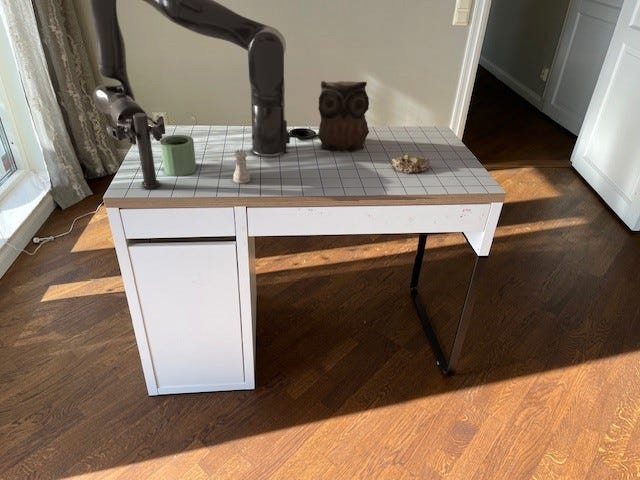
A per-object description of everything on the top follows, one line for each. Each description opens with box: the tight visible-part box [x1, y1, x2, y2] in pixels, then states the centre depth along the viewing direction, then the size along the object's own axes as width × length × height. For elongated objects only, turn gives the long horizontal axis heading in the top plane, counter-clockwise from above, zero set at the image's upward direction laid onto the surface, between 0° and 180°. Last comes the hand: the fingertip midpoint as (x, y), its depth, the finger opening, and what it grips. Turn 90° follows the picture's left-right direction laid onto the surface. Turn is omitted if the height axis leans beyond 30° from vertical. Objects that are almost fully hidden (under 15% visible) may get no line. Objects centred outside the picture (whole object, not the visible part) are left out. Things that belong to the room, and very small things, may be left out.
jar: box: [159, 134, 197, 177], centre depth 128 cm, size 8×8×8 cm
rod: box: [133, 112, 160, 191], centre depth 116 cm, size 4×4×18 cm
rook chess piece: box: [232, 149, 251, 185], centre depth 124 cm, size 4×4×8 cm
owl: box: [317, 80, 370, 153], centre depth 143 cm, size 13×13×20 cm
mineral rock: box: [391, 153, 431, 174], centre depth 137 cm, size 11×4×8 cm
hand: (146, 138), depth 112 cm, fingers open, 5 cm apart
